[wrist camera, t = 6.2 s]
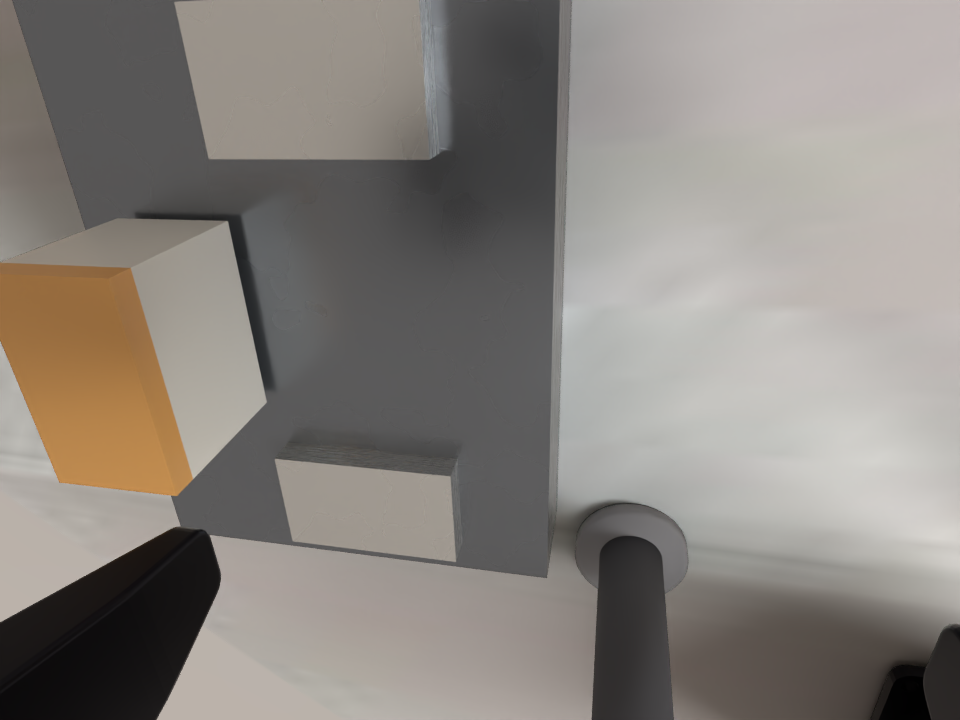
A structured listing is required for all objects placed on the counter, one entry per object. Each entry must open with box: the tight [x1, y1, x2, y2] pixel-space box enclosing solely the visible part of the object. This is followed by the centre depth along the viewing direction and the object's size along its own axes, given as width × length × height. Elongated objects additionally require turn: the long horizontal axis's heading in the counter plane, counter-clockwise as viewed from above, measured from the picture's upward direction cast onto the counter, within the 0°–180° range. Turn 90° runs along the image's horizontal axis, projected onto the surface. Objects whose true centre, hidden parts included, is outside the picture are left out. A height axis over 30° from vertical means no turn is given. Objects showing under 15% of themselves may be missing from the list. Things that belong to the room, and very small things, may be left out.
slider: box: [0, 218, 267, 496], centre depth 15 cm, size 5×3×4 cm, turn 2°
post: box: [575, 504, 688, 720], centre depth 17 cm, size 4×4×9 cm
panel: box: [12, 0, 572, 578], centre depth 17 cm, size 16×12×4 cm
